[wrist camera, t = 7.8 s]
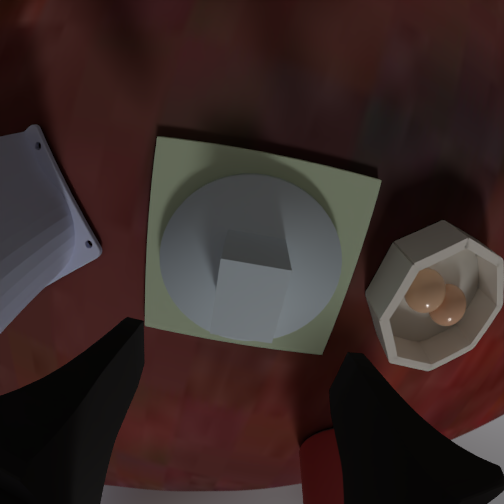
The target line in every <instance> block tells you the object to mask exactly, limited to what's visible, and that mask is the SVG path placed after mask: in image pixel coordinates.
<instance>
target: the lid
mask: <svg viewBox="0 0 504 504" xmlns="http://www.w3.org/2000/svg"><path fill="white" fill-rule="evenodd" d="M341 267H342V251H341V245H340V240H339V237H338V234H337V231H336V229H335V227H334V225H333V223H332V221H331V219H330V218H329V216H328V215H327V213H326V212H325V210H324V209H323V208H322V206H321V205H320V204H319V203H318V202H317V201H316V200H315V199H314V198H313V197H312V196H311V195H310V194H309V193H307V192H306V191H305V190H303V189H302V188H300V187H298V186H297V185H295V184H293V183H291V182H289V181H286V180H284V179H282V178H278V177H275V176H271V175H265V174H257V173H242V174H235V175H229V176H226V177H222V178H219V179H216V180H214V181H212V182H209V183H207V184H205V185H204V186H202V187H200V188H199V189H197V190H196V191H195V192H193V193H192V194H191V195H190V196H189V197H187V198H186V199H185V201H184V202H183V203H182V204H181V205H180V206H179V207H178V209H177V210H176V211H175V212H174V214H173V215H172V217H171V219H170V220H169V222H168V224H167V226H166V228H165V231H164V234H163V237H162V240H161V246H160V269H161V275H162V278H163V282H164V285H165V287H166V289H167V291H168V294H169V295H170V297H171V299H172V300H173V302H174V303H175V304H176V306H177V307H178V308H179V309H180V311H181V312H182V313H183V314H184V315H185V316H187V317H188V318H189V319H190V320H191V321H193V322H194V323H195V324H197V325H198V326H200V327H202V328H203V329H205V330H207V331H209V332H210V334H215V335H219V336H222V337H225V338H229V339H234V340H241V341H258V342H265V343H272V341H273V339H274V338H278V337H281V336H284V335H287V334H290V333H292V332H294V331H296V330H298V329H300V328H302V327H303V326H305V325H306V324H308V323H309V322H310V321H312V320H313V319H314V318H315V317H316V316H317V315H318V314H319V313H320V312H321V311H322V310H323V309H324V308H325V306H326V305H327V304H328V303H329V301H330V299H331V298H332V296H333V294H334V292H335V290H336V287H337V285H338V282H339V278H340V274H341Z"/></svg>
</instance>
